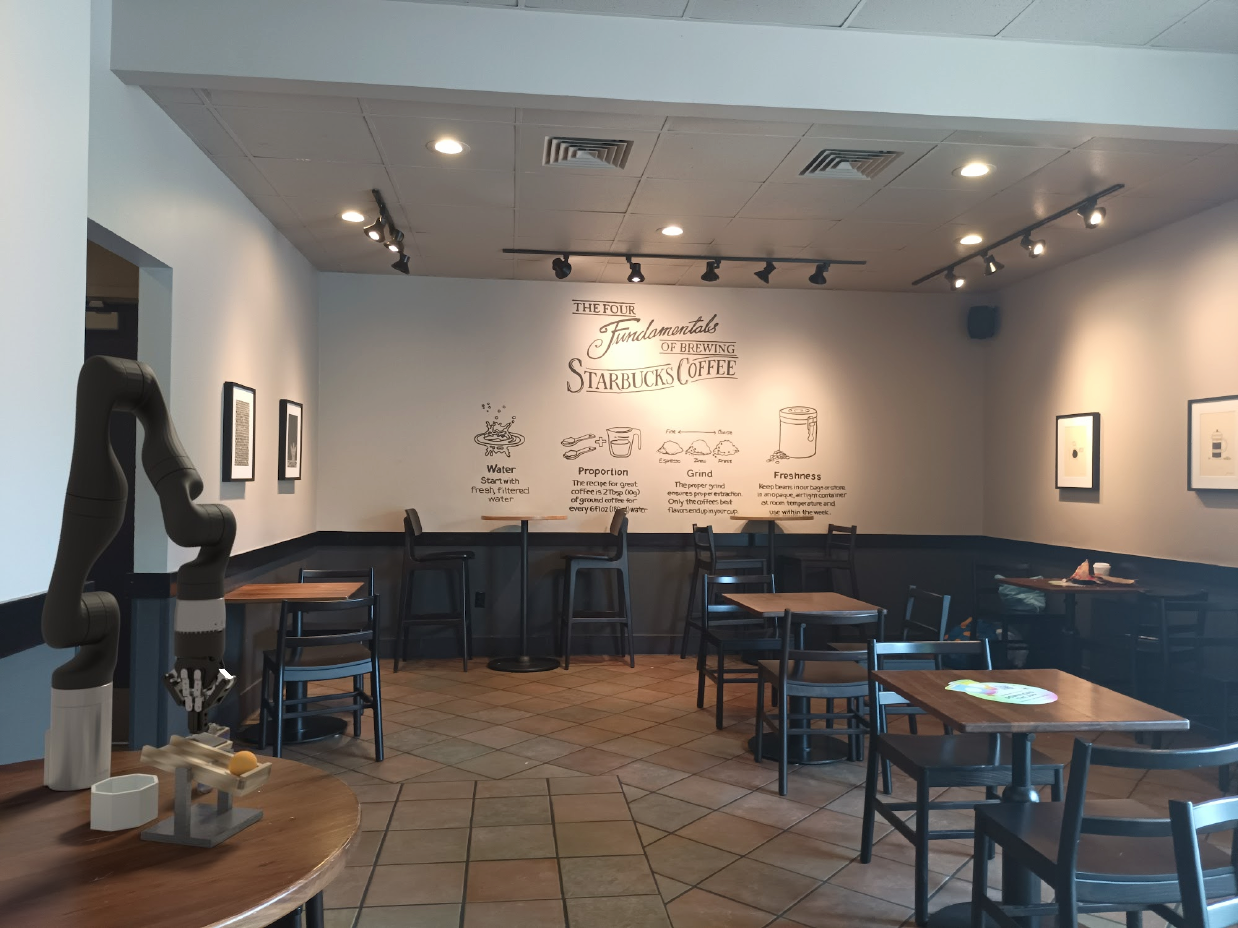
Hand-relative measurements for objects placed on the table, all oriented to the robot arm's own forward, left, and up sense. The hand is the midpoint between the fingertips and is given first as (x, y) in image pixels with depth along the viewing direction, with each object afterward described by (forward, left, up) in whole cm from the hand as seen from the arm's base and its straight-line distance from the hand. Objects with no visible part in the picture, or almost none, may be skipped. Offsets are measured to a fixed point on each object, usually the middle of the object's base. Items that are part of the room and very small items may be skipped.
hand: (198, 732), depth 140 cm
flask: (-5, +11, -13) cm, 17 cm away
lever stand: (+7, -6, -12) cm, 15 cm away
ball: (+13, -6, -2) cm, 15 cm away
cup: (-8, -6, -12) cm, 16 cm away
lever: (+7, -3, -4) cm, 8 cm away
